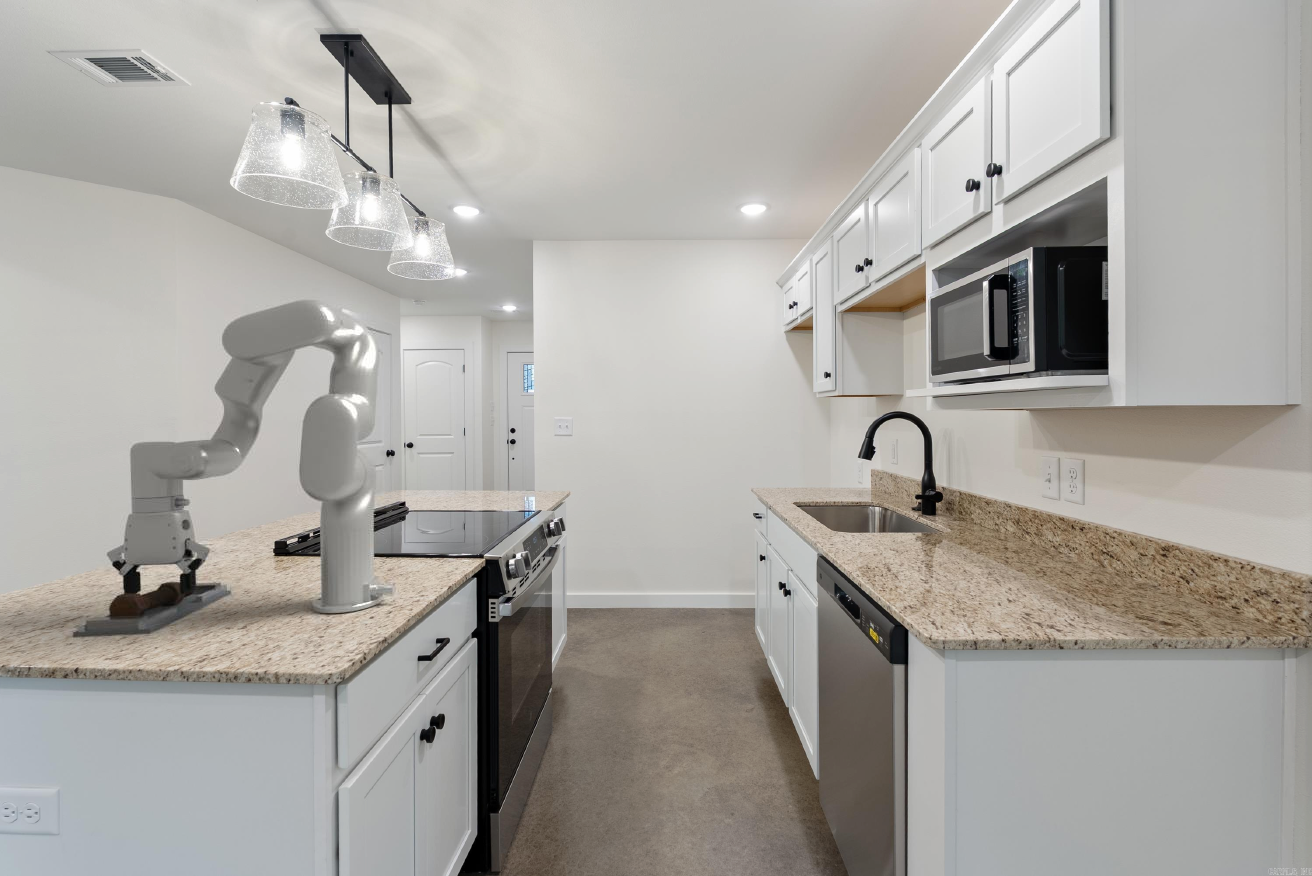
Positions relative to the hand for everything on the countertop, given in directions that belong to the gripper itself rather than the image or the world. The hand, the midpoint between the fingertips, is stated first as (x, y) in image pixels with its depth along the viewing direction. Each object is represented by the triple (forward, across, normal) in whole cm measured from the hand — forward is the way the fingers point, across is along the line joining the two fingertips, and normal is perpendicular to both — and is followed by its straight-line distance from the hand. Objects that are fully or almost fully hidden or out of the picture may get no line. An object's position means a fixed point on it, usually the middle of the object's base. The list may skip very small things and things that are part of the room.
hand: (160, 592), depth 109 cm
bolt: (+3, 0, +1) cm, 3 cm away
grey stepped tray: (+4, 0, 0) cm, 4 cm away
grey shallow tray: (+4, 0, 0) cm, 4 cm away
